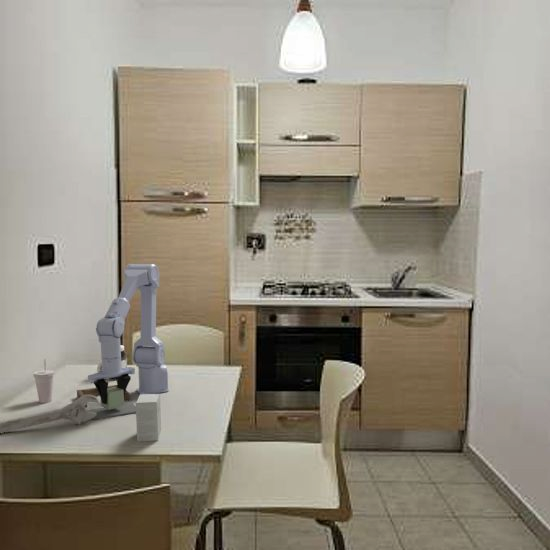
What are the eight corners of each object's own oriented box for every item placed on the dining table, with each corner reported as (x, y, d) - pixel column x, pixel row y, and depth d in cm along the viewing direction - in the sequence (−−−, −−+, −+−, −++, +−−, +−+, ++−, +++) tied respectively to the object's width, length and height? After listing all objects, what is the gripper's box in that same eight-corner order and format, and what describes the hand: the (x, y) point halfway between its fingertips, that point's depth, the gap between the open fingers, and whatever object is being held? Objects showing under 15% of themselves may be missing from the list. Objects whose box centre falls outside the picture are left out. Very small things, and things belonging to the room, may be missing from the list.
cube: (115, 402, 180) (115, 386, 180) (124, 405, 177) (123, 389, 176) (101, 406, 177) (100, 390, 176) (109, 409, 173) (108, 393, 173)
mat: (132, 404, 184) (132, 403, 184) (139, 412, 176) (139, 410, 176) (86, 411, 177) (86, 410, 177) (92, 420, 169) (92, 418, 169)
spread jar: (122, 380, 214) (121, 349, 214) (92, 380, 215) (90, 349, 214) (130, 372, 226) (129, 343, 226) (102, 372, 227) (100, 343, 226)
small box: (140, 431, 159) (139, 393, 158) (161, 430, 160) (160, 393, 159) (136, 442, 151) (135, 402, 150) (158, 441, 152) (156, 401, 151)
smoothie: (48, 404, 185) (46, 361, 184) (30, 403, 187) (28, 361, 186) (59, 399, 192) (57, 357, 191) (42, 398, 193) (40, 356, 192)
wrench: (-11, 443, 160) (101, 418, 169) (-12, 446, 158) (102, 420, 167) (-16, 415, 159) (97, 392, 168) (-17, 418, 157) (97, 393, 166)
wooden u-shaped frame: (120, 391, 200) (120, 384, 199) (129, 400, 189) (128, 392, 189) (77, 397, 193) (76, 390, 193) (83, 407, 182) (82, 399, 182)
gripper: (125, 351, 183) (127, 393, 184) (82, 359, 173) (84, 403, 174) (137, 354, 178) (139, 398, 179) (93, 362, 168) (95, 408, 169)
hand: (112, 401), depth 176 cm, fingers closed on cube, 5 cm apart
